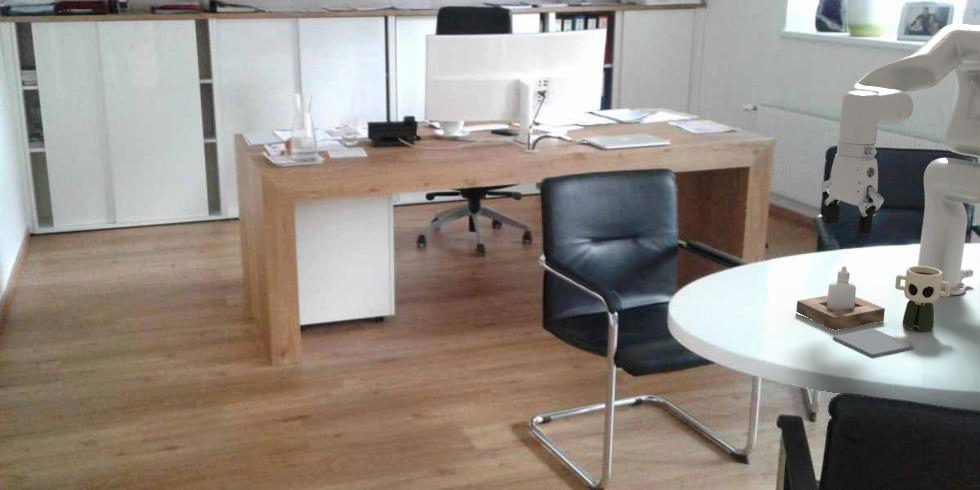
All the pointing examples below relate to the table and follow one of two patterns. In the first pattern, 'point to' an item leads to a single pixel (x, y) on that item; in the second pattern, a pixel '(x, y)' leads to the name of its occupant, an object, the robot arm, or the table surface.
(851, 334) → the slate mat
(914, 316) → the character mug
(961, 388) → the table surface
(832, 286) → the eye dropper bottle
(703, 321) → the table surface
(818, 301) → the walnut dock
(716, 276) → the table surface
